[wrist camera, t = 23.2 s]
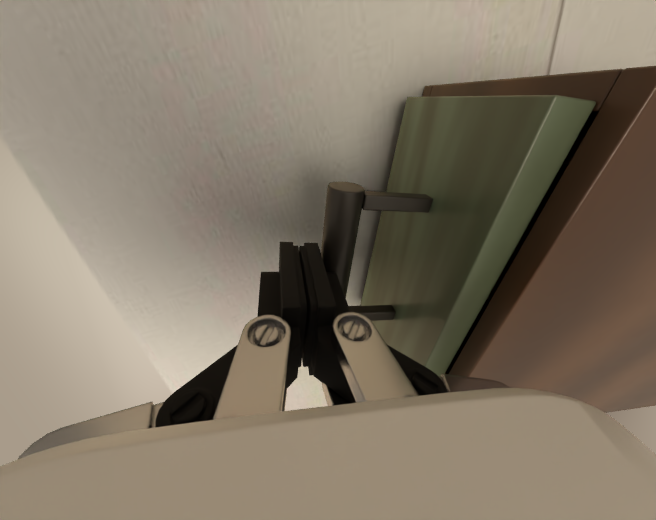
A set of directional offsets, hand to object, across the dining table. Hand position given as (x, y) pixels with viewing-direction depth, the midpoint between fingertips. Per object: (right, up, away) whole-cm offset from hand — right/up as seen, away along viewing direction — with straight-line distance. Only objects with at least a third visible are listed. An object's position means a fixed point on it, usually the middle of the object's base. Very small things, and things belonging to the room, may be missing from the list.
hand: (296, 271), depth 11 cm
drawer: (+9, +3, +5) cm, 11 cm away
